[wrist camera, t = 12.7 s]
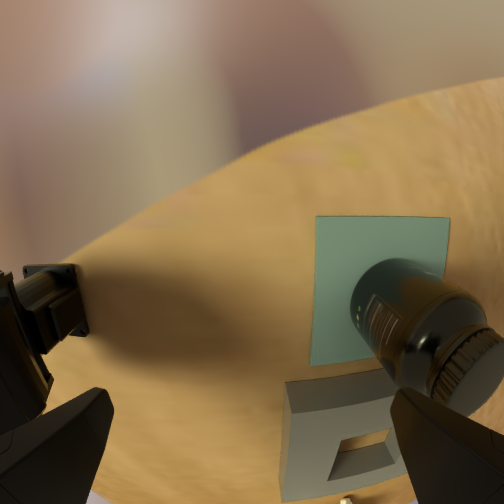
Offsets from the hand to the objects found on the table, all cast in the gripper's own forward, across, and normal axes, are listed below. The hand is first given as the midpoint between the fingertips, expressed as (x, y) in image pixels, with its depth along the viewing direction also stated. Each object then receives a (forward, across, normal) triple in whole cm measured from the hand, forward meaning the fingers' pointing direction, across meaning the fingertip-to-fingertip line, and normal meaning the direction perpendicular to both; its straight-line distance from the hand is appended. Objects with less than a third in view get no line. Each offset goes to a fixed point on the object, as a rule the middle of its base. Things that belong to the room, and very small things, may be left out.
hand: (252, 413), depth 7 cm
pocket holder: (+13, -12, +19) cm, 26 cm away
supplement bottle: (+13, -10, +2) cm, 17 cm away
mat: (+13, -11, +2) cm, 17 cm away
